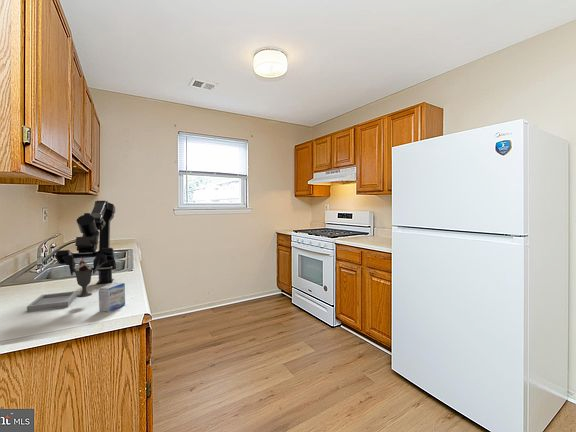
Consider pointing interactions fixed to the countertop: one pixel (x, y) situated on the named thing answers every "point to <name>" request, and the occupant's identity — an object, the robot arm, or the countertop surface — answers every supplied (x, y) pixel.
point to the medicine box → (111, 297)
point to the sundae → (83, 277)
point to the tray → (52, 301)
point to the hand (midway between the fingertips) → (82, 273)
